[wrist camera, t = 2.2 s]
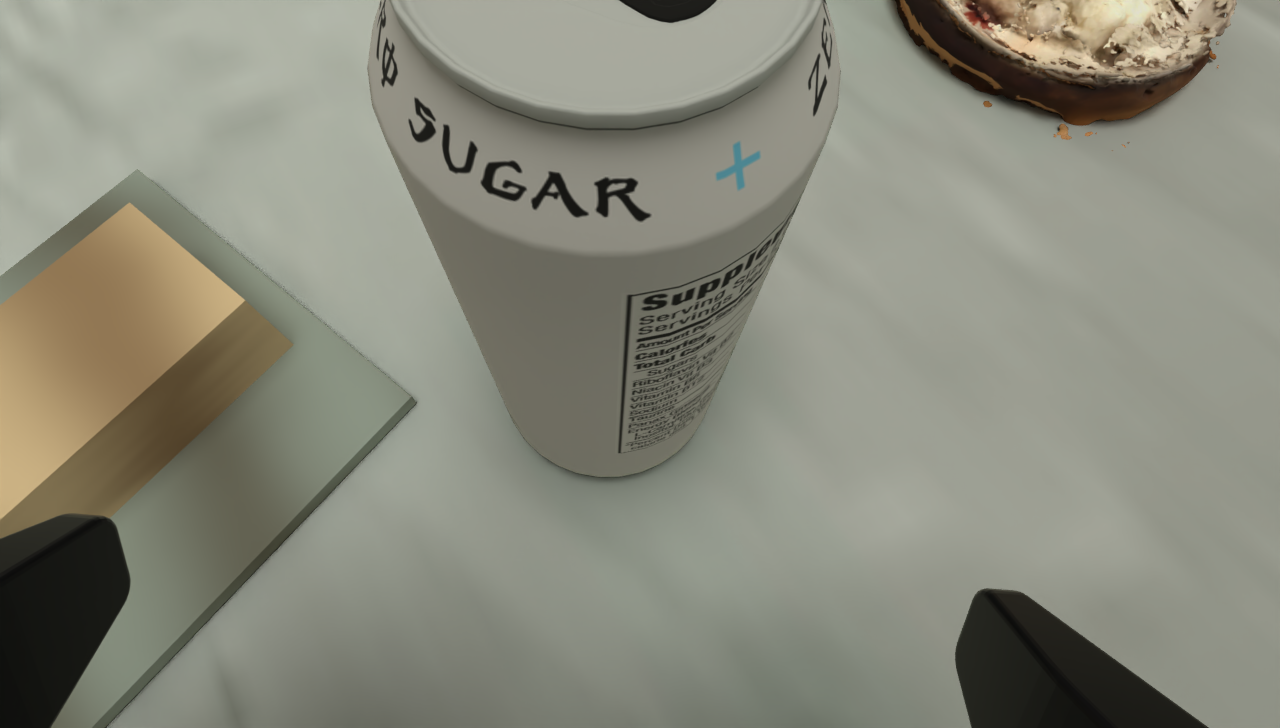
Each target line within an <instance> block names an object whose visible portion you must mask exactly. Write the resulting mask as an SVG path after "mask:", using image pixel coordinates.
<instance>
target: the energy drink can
mask: <svg viewBox="0 0 1280 728" xmlns="http://www.w3.org/2000/svg"><path fill="white" fill-rule="evenodd" d="M840 73H841V70H840V64H839V57H838V51H837V45H836V38H835V32H834V27H833V24H832V20H831V17H830V14H829V10H828V7H827V4H826V1H825V0H381V1H380V4H379V8H378V11H377V14H376V17H375V20H374V24H373V30H372V37H371V45H370V52H369V60H368V76H369V84H370V92H371V100H372V106H373V109H374V112H375V114H376V117H377V119H378V122H379V124H380V127H381V129H382V132H383V134H384V137H385V140H386V142H387V144H388V147H389V149H390V151H391V153H392V155H393V158H394V160H395V162H396V164H397V166H398V169H399V171H400V173H401V175H402V178H403V180H404V182H405V184H406V186H407V189H408V191H409V193H410V195H411V197H412V200H413V202H414V204H415V206H416V208H417V211H418V213H419V215H420V217H421V219H422V222H423V224H424V226H425V228H426V230H427V233H428V235H429V237H430V239H431V242H432V244H433V246H434V248H435V250H436V253H437V255H438V257H439V259H440V261H441V264H442V266H443V268H444V270H445V272H446V275H447V277H448V279H449V281H450V283H451V286H452V288H453V290H454V292H455V294H456V297H457V299H458V301H459V303H460V306H461V308H462V310H463V312H464V314H465V317H466V319H467V321H468V323H469V325H470V328H471V330H472V332H473V334H474V336H475V339H476V341H477V343H478V345H479V347H480V350H481V352H482V354H483V356H484V358H485V361H486V363H487V365H488V367H489V369H490V372H491V374H492V376H493V378H494V381H495V383H496V385H497V387H498V389H499V392H500V394H501V396H502V398H503V400H504V403H505V405H506V407H507V409H508V411H509V414H510V416H511V418H512V420H513V422H514V424H515V426H516V427H517V428H518V430H519V431H520V433H521V434H522V436H523V437H524V439H525V440H526V441H527V442H528V443H529V444H530V445H531V446H532V447H533V448H534V449H535V450H536V451H537V452H538V453H539V454H540V455H542V456H544V457H545V458H547V459H548V460H550V461H551V462H553V463H554V464H556V465H558V466H560V467H563V468H565V469H568V470H570V471H573V472H576V473H579V474H584V475H590V476H596V477H621V476H625V475H630V474H635V473H639V472H643V471H645V470H647V469H649V468H652V467H654V466H656V465H659V464H661V463H662V462H664V461H665V460H667V459H668V458H670V457H671V456H672V455H674V454H675V453H677V452H678V451H679V450H680V449H681V448H682V447H683V446H684V445H685V444H686V443H687V442H688V441H689V440H690V439H691V437H692V436H693V435H694V433H695V431H696V430H697V428H698V427H699V425H700V423H701V422H702V420H703V418H704V416H705V414H706V411H707V409H708V407H709V405H710V402H711V400H712V398H713V395H714V393H715V391H716V389H717V386H718V384H719V382H720V380H721V377H722V375H723V373H724V371H725V368H726V366H727V364H728V362H729V359H730V357H731V355H732V353H733V350H734V348H735V346H736V343H737V341H738V339H739V337H740V334H741V332H742V330H743V328H744V325H745V323H746V321H747V319H748V316H749V314H750V312H751V310H752V307H753V305H754V303H755V300H756V298H757V296H758V294H759V291H760V289H761V287H762V285H763V282H764V280H765V278H766V276H767V273H768V271H769V269H770V267H771V264H772V262H773V260H774V258H775V255H776V253H777V251H778V248H779V246H780V244H781V242H782V239H783V237H784V235H785V233H786V230H787V228H788V226H789V224H790V221H791V219H792V217H793V215H794V212H795V210H796V208H797V205H798V203H799V201H800V199H801V196H802V194H803V192H804V190H805V187H806V185H807V183H808V181H809V178H810V176H811V174H812V172H813V169H814V167H815V165H816V163H817V160H818V158H819V156H820V153H821V151H822V149H823V147H824V144H825V142H826V139H827V136H828V133H829V130H830V128H831V125H832V122H833V119H834V116H835V113H836V110H837V107H838V96H839V84H840Z"/></svg>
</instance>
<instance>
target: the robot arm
mask: <svg viewBox="0 0 1280 728" xmlns="http://www.w3.org/2000/svg"><path fill="white" fill-rule="evenodd" d="M130 584H131V578H130V573H129V569H128V566H127V562H126V558H125V555H124V551H123V547H122V544H121V540H120V536H119V533H118V529H117V527H116V524H115V523H114V522H113V521H112V520H111V519H110V518H108V517H105V516H101V515H89V514H77V513H68V514H62V515H59V516H56V517H54V518H51V519H49V520H46V521H44V522H41V523H38V524H36V525H33V526H31V527H28V528H26V529H23V530H21V531H18V532H16V533H13V534H10V535H8V536H5V537H3V538H0V728H51V726H52V725H53V723H54V722H55V720H56V718H57V717H58V715H59V713H60V712H61V710H62V708H63V707H64V705H65V703H66V702H67V700H68V698H69V697H70V695H71V693H72V691H73V690H74V688H75V686H76V685H77V683H78V681H79V680H80V678H81V676H82V675H83V673H84V671H85V670H86V668H87V666H88V665H89V663H90V661H91V660H92V658H93V656H94V655H95V653H96V651H97V650H98V648H99V646H100V644H101V643H102V641H103V639H104V638H105V636H106V634H107V633H108V631H109V629H110V628H111V626H112V624H113V623H114V621H115V619H116V618H117V616H118V614H119V613H120V611H121V609H122V608H123V606H124V604H125V602H126V600H127V597H128V594H129V591H130ZM955 662H956V669H957V673H958V677H959V681H960V685H961V689H962V693H963V697H964V700H965V704H966V708H967V712H968V716H969V720H970V724H971V727H972V728H1208V727H1207V726H1206V725H1204V724H1203V723H1202V722H1200V721H1199V720H1197V719H1196V718H1195V717H1193V716H1192V715H1191V714H1189V713H1188V712H1186V711H1185V710H1184V709H1182V708H1181V707H1180V706H1178V705H1177V704H1175V703H1174V702H1173V701H1171V700H1170V699H1169V698H1167V697H1166V696H1164V695H1163V694H1162V693H1160V692H1159V691H1158V690H1156V689H1155V688H1153V687H1152V686H1151V685H1149V684H1148V683H1147V682H1145V681H1144V680H1142V679H1141V678H1140V677H1138V676H1137V675H1135V674H1134V673H1133V672H1131V671H1130V670H1129V669H1127V668H1126V667H1124V666H1123V665H1122V664H1120V663H1119V662H1118V661H1116V660H1115V659H1113V658H1112V657H1111V656H1109V655H1108V654H1107V653H1105V652H1104V651H1102V650H1101V649H1100V648H1098V647H1097V646H1096V645H1094V644H1093V643H1091V642H1090V641H1089V640H1087V639H1086V638H1085V637H1083V636H1082V635H1080V634H1079V633H1078V632H1076V631H1075V630H1074V629H1072V628H1071V627H1069V626H1068V625H1067V624H1065V623H1064V622H1063V621H1061V620H1060V619H1058V618H1057V617H1056V616H1054V615H1053V614H1052V613H1050V612H1049V611H1047V610H1046V609H1045V608H1043V607H1042V606H1041V605H1039V604H1038V603H1036V602H1035V601H1034V600H1032V599H1031V598H1030V597H1028V596H1027V595H1025V594H1024V593H1021V592H1018V591H1013V590H1001V589H989V588H986V589H982V590H980V591H978V592H977V593H976V595H975V596H974V598H973V600H972V603H971V606H970V609H969V611H968V614H967V617H966V620H965V622H964V625H963V628H962V631H961V634H960V636H959V639H958V642H957V646H956V652H955Z"/></svg>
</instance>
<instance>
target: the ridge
mask: <svg viewBox="0 0 1280 728" xmlns="http://www.w3.org/2000/svg"><path fill="white" fill-rule="evenodd" d="M415 404H416V402H415V400H414V399H413V398H412V397H411V396H410V395H409V394H408V393H406V392H405V391H404V390H403V389H402V388H400V387H399V386H398V385H397V384H396V383H394V382H393V381H392V380H391V379H390V378H388V377H387V376H386V375H385V374H384V373H382V372H381V371H380V370H379V369H378V368H376V367H375V366H374V365H373V364H372V363H370V362H369V361H368V360H367V359H365V358H364V357H363V356H362V355H361V354H359V353H358V352H357V351H356V350H355V349H353V348H352V347H351V346H350V345H349V344H347V343H346V342H345V341H344V340H343V339H341V338H340V337H339V336H338V335H337V334H335V333H334V332H333V331H332V330H331V329H329V328H328V327H327V326H326V325H325V324H323V323H322V322H321V321H320V320H319V319H317V318H316V317H315V316H314V315H312V314H311V313H310V312H309V311H308V310H306V309H305V308H304V307H303V306H302V305H300V304H299V303H298V302H297V301H296V300H294V299H293V298H292V297H291V296H290V295H288V294H287V293H286V292H285V291H284V290H282V289H281V288H280V287H279V286H278V285H276V284H275V283H274V282H273V281H272V280H270V279H269V278H268V277H267V276H266V275H264V274H263V273H262V272H261V271H259V270H258V269H257V268H256V267H255V266H253V265H252V264H251V263H250V262H249V261H247V260H246V259H245V258H244V257H243V256H241V255H240V254H239V253H238V252H237V251H235V250H234V249H233V248H232V247H231V246H229V245H228V244H227V243H226V242H225V241H223V240H222V239H221V238H220V237H219V236H217V235H216V234H215V233H214V232H213V231H211V230H210V229H209V228H208V227H206V226H205V225H204V224H203V223H202V222H200V221H199V220H198V219H197V218H196V217H194V216H193V215H192V214H191V213H190V212H188V211H187V210H186V209H185V208H184V207H182V206H181V205H180V204H179V203H178V202H176V201H175V200H174V199H173V198H172V197H170V196H169V195H168V194H167V193H166V192H164V191H163V190H162V189H161V188H159V187H158V186H157V185H156V184H155V183H153V182H152V181H151V180H150V179H149V178H147V177H146V176H145V175H144V174H143V173H141V172H140V171H139V170H138V169H137V170H136V171H134V172H133V173H132V174H131V175H129V176H128V177H127V178H125V179H124V180H123V181H122V182H120V183H119V184H118V185H116V186H115V187H114V188H113V189H111V190H110V191H109V192H108V193H106V194H105V195H104V196H102V197H101V198H100V199H99V200H97V201H96V202H95V203H93V204H92V205H91V206H90V207H88V208H87V209H86V210H84V211H83V212H82V213H81V214H79V215H78V216H77V217H76V218H74V219H73V220H72V221H70V222H69V223H68V224H67V225H65V226H64V227H63V228H61V229H60V230H59V231H58V232H56V233H55V234H54V235H52V236H51V237H50V238H49V239H47V240H46V241H45V242H44V243H42V244H41V245H40V246H38V247H37V248H36V249H35V250H33V251H32V252H31V253H29V254H28V255H27V256H26V257H24V258H23V259H22V260H20V261H19V262H18V263H17V264H15V265H14V266H13V267H12V268H10V269H9V270H8V271H6V272H5V273H4V274H3V275H1V276H0V538H3V537H5V536H8V535H10V534H13V533H16V532H18V531H21V530H23V529H26V528H28V527H31V526H33V525H36V524H38V523H41V522H44V521H46V520H49V519H51V518H54V517H56V516H59V515H62V514H68V513H77V514H89V515H101V516H105V517H108V518H110V519H111V520H112V521H113V522H114V523H115V524H116V527H117V529H118V533H119V536H120V540H121V544H122V547H123V551H124V555H125V558H126V562H127V566H128V569H129V573H130V578H131V584H130V591H129V594H128V597H127V600H126V602H125V604H124V606H123V608H122V609H121V611H120V613H119V614H118V616H117V618H116V619H115V621H114V623H113V624H112V626H111V628H110V629H109V631H108V633H107V634H106V636H105V638H104V639H103V641H102V643H101V644H100V646H99V648H98V650H97V651H96V653H95V655H94V656H93V658H92V660H91V661H90V663H89V665H88V666H87V668H86V670H85V671H84V673H83V675H82V676H81V678H80V680H79V681H78V683H77V685H76V686H75V688H74V690H73V691H72V693H71V695H70V697H69V698H68V700H67V702H66V703H65V705H64V707H63V708H62V710H61V712H60V713H59V715H58V717H57V718H56V720H55V722H54V723H53V725H52V726H51V728H105V727H106V726H107V725H108V724H109V723H110V722H111V721H112V720H113V719H114V718H115V717H116V716H117V715H118V714H119V713H120V711H121V710H122V709H123V708H124V707H125V706H126V705H127V704H128V703H129V702H130V701H131V700H132V699H133V698H134V697H135V696H136V695H137V694H138V693H139V692H140V691H141V690H142V689H143V687H144V686H145V685H146V684H147V683H148V682H149V681H150V680H151V679H152V678H153V677H154V676H155V675H156V674H157V673H158V672H159V671H160V670H161V669H162V668H163V667H164V666H165V665H166V664H167V662H168V661H169V660H170V659H171V658H172V657H173V656H174V655H175V654H176V653H177V652H178V651H179V650H180V649H181V648H182V647H183V646H184V645H185V644H186V643H187V642H188V641H189V640H190V639H191V637H192V636H193V635H194V634H195V633H196V632H197V631H198V630H199V629H200V628H201V627H202V626H203V625H204V624H205V623H206V622H207V621H208V620H209V619H210V618H211V617H212V616H213V615H214V613H215V612H216V611H217V610H218V609H219V608H220V607H221V606H222V605H223V604H224V603H225V602H226V601H227V600H228V599H229V598H230V597H231V596H232V595H233V594H234V593H235V592H236V591H237V590H238V588H239V587H240V586H241V585H242V584H243V583H244V582H245V581H246V580H247V579H248V578H249V577H250V576H251V575H252V574H253V573H254V572H255V571H256V570H257V569H258V568H259V567H260V566H261V565H262V563H263V562H264V561H265V560H266V559H267V558H268V557H269V556H270V555H271V554H272V553H273V552H274V551H275V550H276V549H277V548H278V547H279V546H280V545H281V544H282V543H283V542H284V541H285V539H286V538H287V537H288V536H289V535H290V534H291V533H292V532H293V531H294V530H295V529H296V528H297V527H298V526H299V525H300V524H301V523H302V522H303V521H304V520H305V519H306V518H307V517H308V516H309V514H310V513H311V512H312V511H313V510H314V509H315V508H316V507H317V506H318V505H319V504H320V503H321V502H322V501H323V500H324V499H325V498H326V497H327V496H328V495H329V494H330V493H331V492H332V491H333V489H334V488H335V487H336V486H337V485H338V484H339V483H340V482H341V481H342V480H343V479H344V478H345V477H346V476H347V475H348V474H349V473H350V472H351V471H352V470H353V469H354V468H355V467H356V465H357V464H358V463H359V462H360V461H361V460H362V459H363V458H364V457H365V456H366V455H367V454H368V453H369V452H370V451H371V450H372V449H373V448H374V447H375V446H376V445H377V444H378V443H379V442H380V440H381V439H382V438H383V437H384V436H385V435H386V434H387V433H388V432H389V431H390V430H391V429H392V428H393V427H394V426H395V425H396V424H397V423H398V422H399V421H400V420H401V419H402V418H403V417H404V415H405V414H406V413H407V412H408V411H409V410H410V409H411V408H412V407H413V406H414V405H415Z"/></svg>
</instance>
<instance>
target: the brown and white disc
mask: <svg viewBox="0 0 1280 728" xmlns="http://www.w3.org/2000/svg"><path fill="white" fill-rule="evenodd" d="M895 1H896V2H897V9H898V13H899V15H900V18H901V19H902V21H903V23H904V26H905V28H906V30H907V31H908V32H909V35H910V37H911V38H912V39H913V40H914V42H915V44H916V45H917V46H919V47H920V46H921V45H924V46H926V47H927V48H928V50H929V51H930V52H931V53H932V54H935V55H936V56H938V57H939V58H940V59H941V60H942V62H943V63H945V64H947V65H948V66H949V68H950V70H951V73H952V75H954V76H956V78H958V79H960V80H961V81H963V82H966V83H969V84H970V85H972V86H973V87H974V88H975V89H976V90H979V91H981V92H986V93H988V94H992V95H1003V96H1005V97H1006V98H1009V99H1012V100H1015V101H1019V102H1025V103H1027V104H1028V105H1030V106H1032V107H1038V108H1040V109H1044V110H1046V111H1048V112H1057V113H1059V114H1061V115H1062V117H1063V120H1064V121H1065V122H1067V123H1069V124H1073V125H1080V126H1083V125H1088V124H1090V123H1092V122H1094V121H1096V120H1099V119H1102V120H1106V121H1113V120H1118V119H1128V118H1131V117H1133V116H1135V115H1137V114H1139V113H1141V112H1143V111H1144V110H1146V109H1149V108H1150V107H1152V106H1153V105H1154V104H1157V103H1159V102H1160V101H1162V100H1164V99H1166V98H1168V97H1169V96H1171V95H1172V94H1174V93H1175V92H1177V91H1178V90H1180V89H1181V88H1182V87H1184V86H1185V85H1186V84H1187V83H1188V82H1190V81H1191V80H1192V79H1193V78H1194V77H1195V76H1196V75H1197V74H1198V73H1199V72H1200V71H1201V69H1202V68H1203V67H1204V66H1205V65H1206V63H1207V62H1208V60H1209V57H1211V58H1212V59H1216V55H1215V54H1212V51H1211V48H1210V47H1209V44H1210V39H1212V38H1215V37H1216V36H1221V35H1222V34H1223V33H1224V29H1225V28H1227V27H1229V26H1230V25H1231V24H1230V18H1231V15H1232V14H1234V12H1233V11H1234V10H1235V6H1236V0H895ZM1225 13H1226V14H1227V16H1226V17H1225V18H1224V15H1225ZM1218 44H1219V42H1218V41H1217V42H1216V45H1218ZM1218 66H1219V65H1218ZM1217 68H1218V67H1217ZM983 104H984V106H985V107H991V106H992V104H991V103H990V102H989V101H985V102H984V103H983ZM1059 129H1060V132H1058V133H1057V135H1061V138H1062V139H1067V140H1068V139H1071V137H1070V136H1068V127H1067V126H1066V125H1065V124H1061V125H1060V126H1059ZM1091 134H1093V133H1092V132H1088V133H1086V134H1085V136H1090V135H1091ZM1096 134H1097V132H1096ZM1054 137H1056V135H1055V134H1054ZM1128 143H1130V142H1128ZM1122 145H1123V144H1122ZM1123 146H1124V147H1125V148H1126V146H1125V145H1123ZM1112 151H1113V150H1112Z"/></svg>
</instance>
